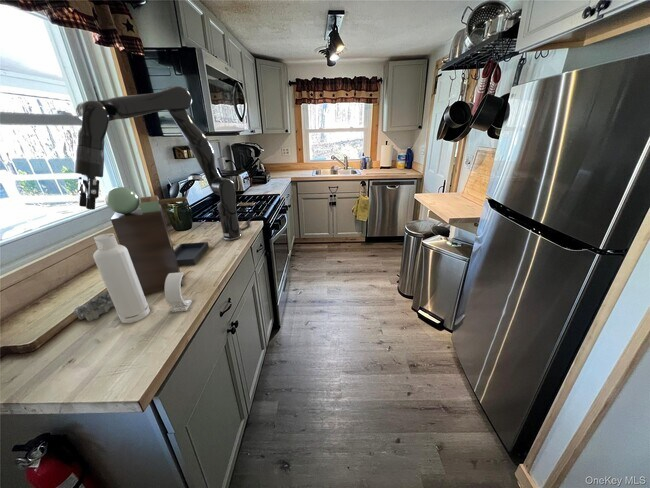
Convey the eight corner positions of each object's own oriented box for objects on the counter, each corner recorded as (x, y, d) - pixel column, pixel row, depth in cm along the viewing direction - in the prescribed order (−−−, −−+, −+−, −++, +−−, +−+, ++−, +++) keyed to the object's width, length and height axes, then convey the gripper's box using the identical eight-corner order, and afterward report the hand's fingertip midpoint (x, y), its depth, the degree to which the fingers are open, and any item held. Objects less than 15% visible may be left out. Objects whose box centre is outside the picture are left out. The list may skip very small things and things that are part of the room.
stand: (141, 284, 103) (115, 212, 91) (181, 275, 109) (161, 205, 97) (140, 297, 95) (110, 219, 83) (182, 285, 101) (160, 212, 89)
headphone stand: (191, 301, 91) (183, 272, 86) (185, 312, 86) (175, 281, 81) (178, 302, 91) (169, 273, 86) (170, 313, 85) (160, 282, 80)
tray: (182, 249, 134) (180, 243, 133) (209, 247, 135) (207, 241, 134) (164, 267, 116) (162, 260, 115) (195, 264, 117) (193, 258, 116)
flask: (113, 212, 90) (103, 186, 86) (161, 206, 97) (153, 181, 93) (108, 219, 83) (98, 191, 79) (160, 211, 89) (153, 185, 86)
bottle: (155, 309, 88) (127, 232, 76) (132, 325, 81) (98, 243, 69) (138, 305, 90) (109, 230, 79) (114, 320, 83) (78, 240, 72)
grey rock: (91, 322, 82) (85, 312, 81) (74, 319, 84) (69, 308, 83) (123, 302, 92) (118, 293, 90) (107, 299, 94) (103, 290, 92)
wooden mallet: (144, 209, 93) (140, 196, 91) (187, 203, 99) (184, 191, 97) (144, 212, 89) (139, 199, 87) (188, 206, 95) (185, 193, 93)
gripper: (110, 164, 89) (106, 211, 91) (97, 163, 97) (94, 206, 99) (81, 159, 83) (78, 209, 85) (69, 158, 91) (67, 204, 93)
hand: (86, 207), depth 92 cm, fingers open, 8 cm apart
